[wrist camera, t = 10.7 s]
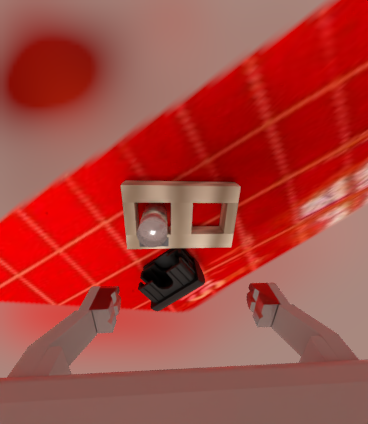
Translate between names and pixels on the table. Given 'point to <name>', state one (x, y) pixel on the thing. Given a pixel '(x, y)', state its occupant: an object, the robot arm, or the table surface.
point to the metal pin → (153, 225)
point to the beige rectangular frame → (182, 211)
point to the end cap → (170, 278)
